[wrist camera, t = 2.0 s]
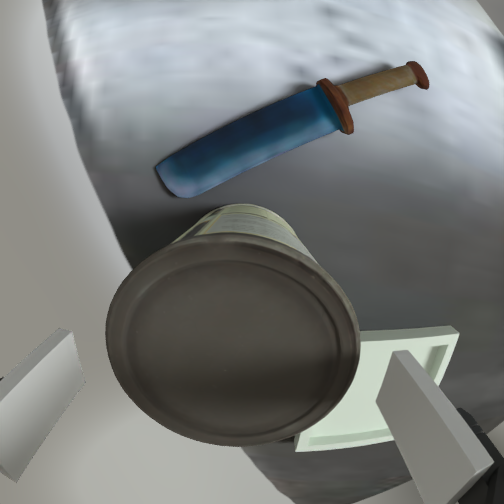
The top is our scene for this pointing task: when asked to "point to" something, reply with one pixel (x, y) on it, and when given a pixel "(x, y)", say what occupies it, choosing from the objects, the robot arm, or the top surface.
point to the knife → (278, 130)
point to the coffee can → (233, 332)
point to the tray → (377, 387)
